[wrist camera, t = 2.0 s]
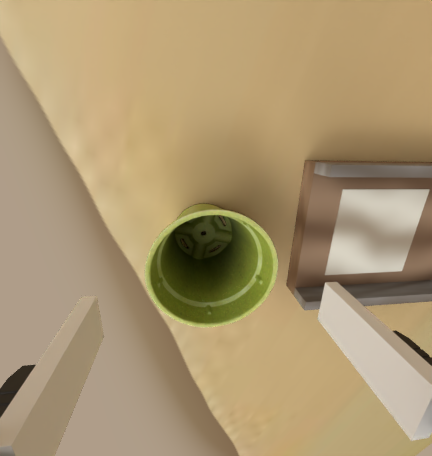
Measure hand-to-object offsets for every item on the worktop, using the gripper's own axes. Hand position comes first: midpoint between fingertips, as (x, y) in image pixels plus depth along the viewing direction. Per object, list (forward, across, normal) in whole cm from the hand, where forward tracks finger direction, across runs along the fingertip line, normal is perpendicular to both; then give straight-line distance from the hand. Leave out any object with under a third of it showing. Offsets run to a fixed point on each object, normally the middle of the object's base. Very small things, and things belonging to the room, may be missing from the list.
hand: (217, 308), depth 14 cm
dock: (+12, +20, 0) cm, 23 cm away
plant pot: (+12, 0, 0) cm, 12 cm away
